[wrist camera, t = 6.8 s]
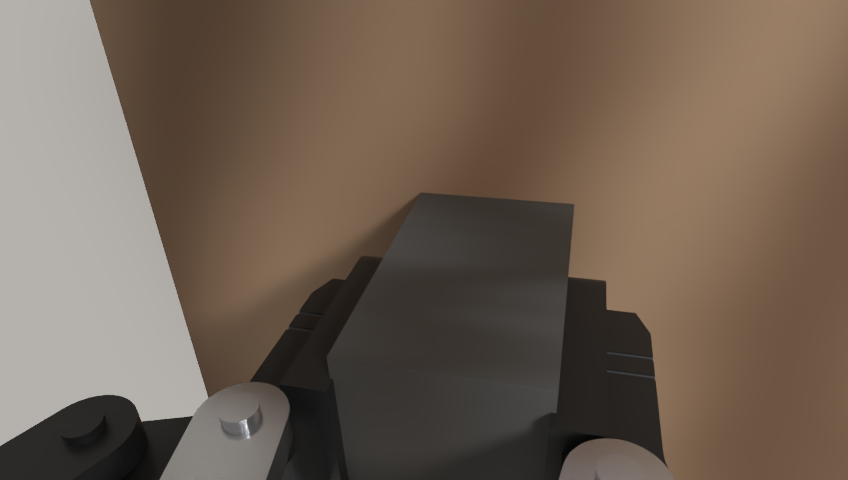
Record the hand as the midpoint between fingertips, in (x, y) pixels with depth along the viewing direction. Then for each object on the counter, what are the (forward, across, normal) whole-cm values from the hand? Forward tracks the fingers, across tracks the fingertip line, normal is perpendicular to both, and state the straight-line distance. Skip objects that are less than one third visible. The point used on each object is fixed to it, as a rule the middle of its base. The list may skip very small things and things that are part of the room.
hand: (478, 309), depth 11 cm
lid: (+2, 0, 0) cm, 2 cm away
